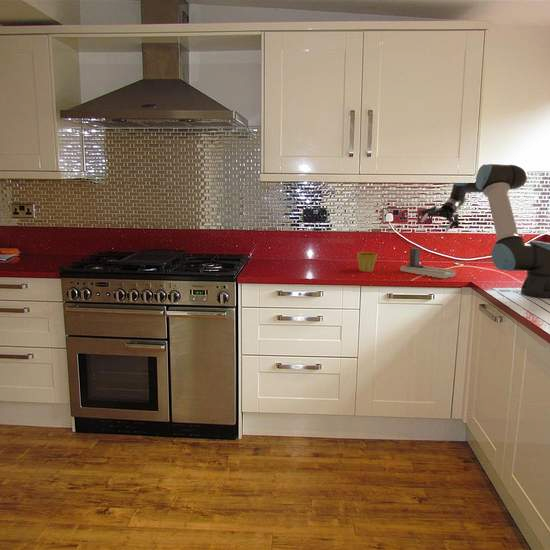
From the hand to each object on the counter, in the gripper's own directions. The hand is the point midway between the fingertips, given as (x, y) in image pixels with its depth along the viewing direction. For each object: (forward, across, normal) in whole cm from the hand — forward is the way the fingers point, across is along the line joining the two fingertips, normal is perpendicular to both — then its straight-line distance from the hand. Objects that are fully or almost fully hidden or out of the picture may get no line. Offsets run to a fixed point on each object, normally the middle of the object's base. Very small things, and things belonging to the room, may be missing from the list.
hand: (434, 225), depth 266 cm
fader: (+13, +1, -21) cm, 24 cm away
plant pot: (+29, +20, -23) cm, 43 cm away
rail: (+15, -7, -20) cm, 26 cm away
